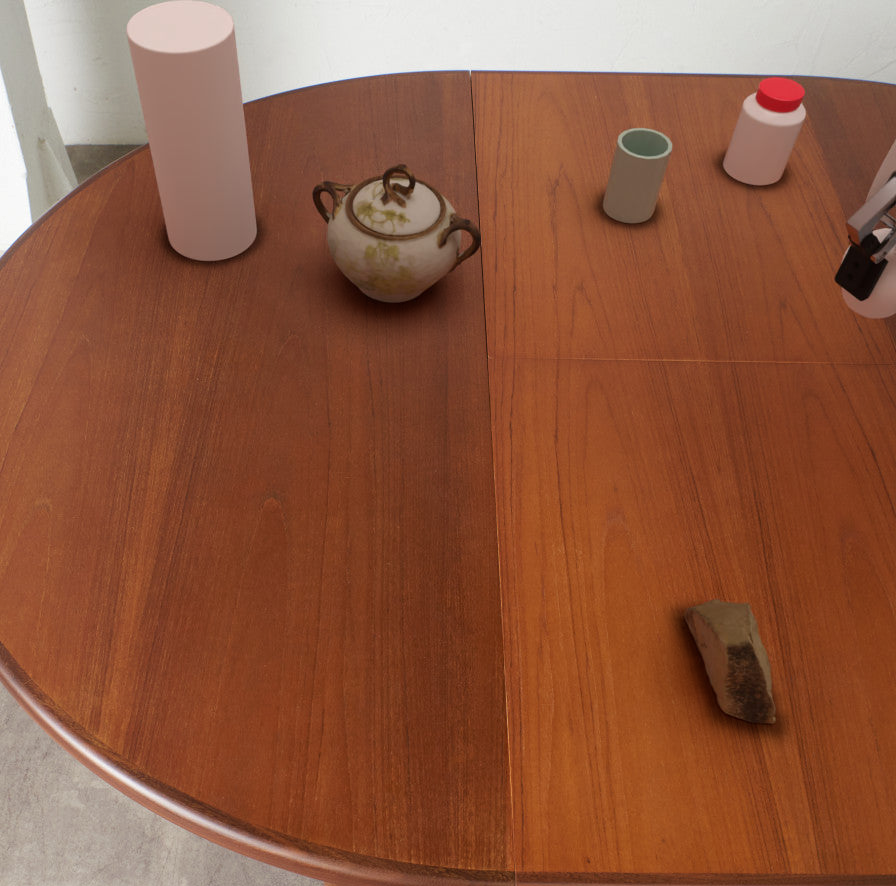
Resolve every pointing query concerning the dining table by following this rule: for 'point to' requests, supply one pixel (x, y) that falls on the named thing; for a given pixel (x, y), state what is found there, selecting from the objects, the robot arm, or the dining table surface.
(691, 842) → the dining table surface
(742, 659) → the rock
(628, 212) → the cup
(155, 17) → the tall pillar cylinder
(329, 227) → the sugar bowl
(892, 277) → the apple
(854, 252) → the robot arm
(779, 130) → the pill bottle
